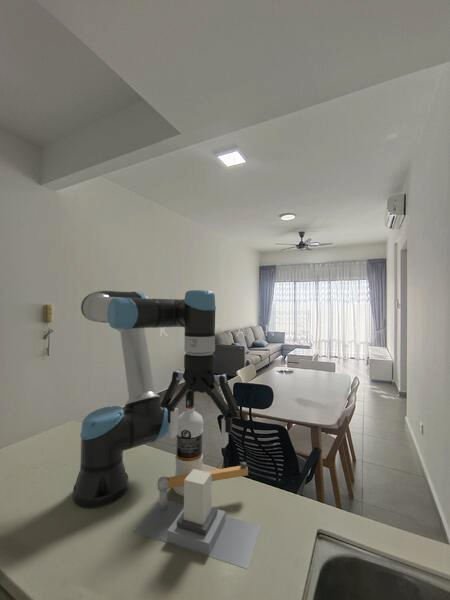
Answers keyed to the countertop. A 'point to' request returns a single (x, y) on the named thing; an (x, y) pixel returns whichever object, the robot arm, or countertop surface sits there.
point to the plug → (197, 502)
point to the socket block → (216, 543)
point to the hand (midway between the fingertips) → (198, 440)
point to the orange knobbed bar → (218, 474)
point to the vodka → (189, 441)
